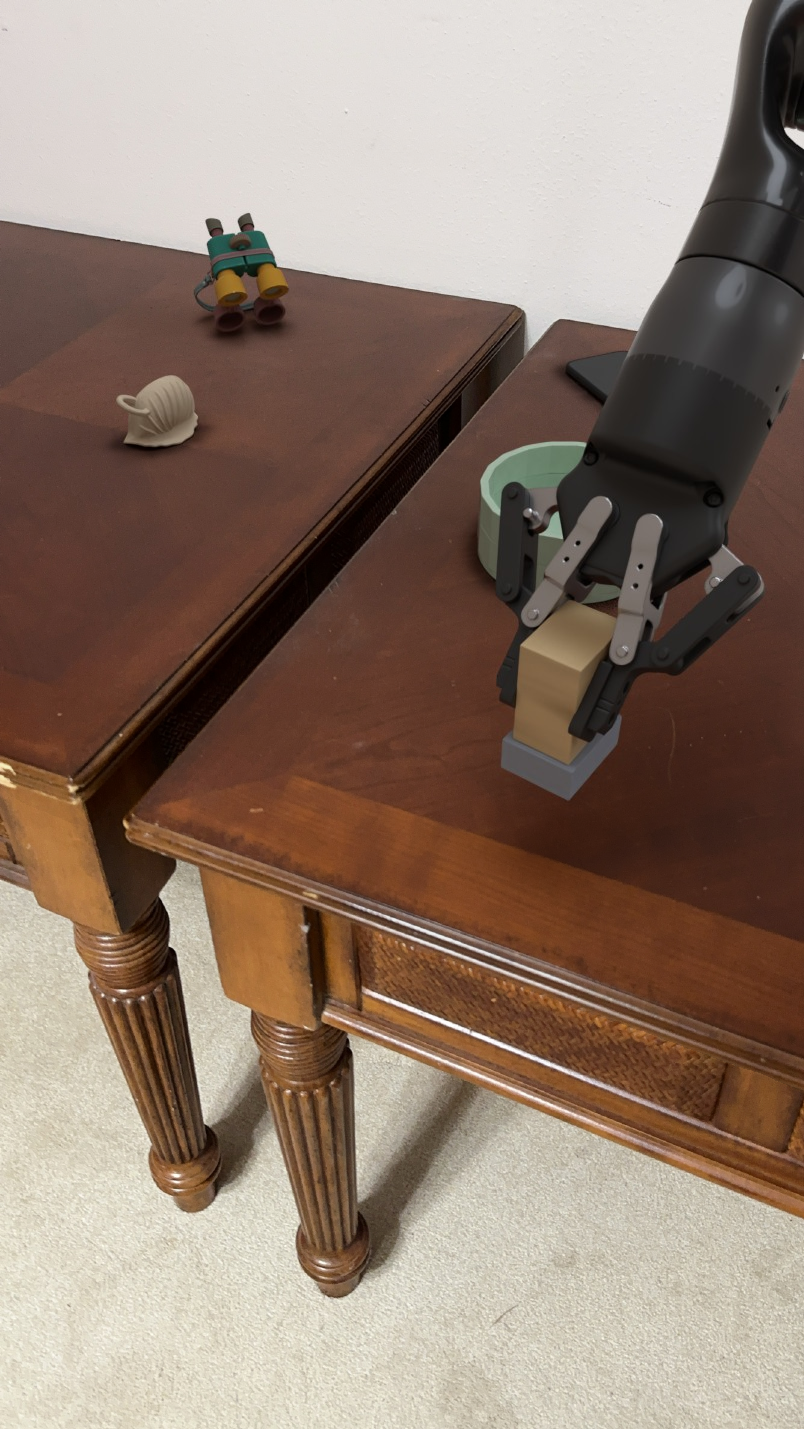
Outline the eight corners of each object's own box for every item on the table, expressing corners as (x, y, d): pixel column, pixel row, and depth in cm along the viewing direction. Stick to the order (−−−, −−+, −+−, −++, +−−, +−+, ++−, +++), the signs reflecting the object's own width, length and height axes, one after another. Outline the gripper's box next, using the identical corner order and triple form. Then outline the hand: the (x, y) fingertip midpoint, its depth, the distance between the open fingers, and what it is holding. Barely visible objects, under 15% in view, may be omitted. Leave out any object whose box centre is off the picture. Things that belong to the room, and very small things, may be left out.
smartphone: (628, 347, 106) (720, 414, 96) (627, 356, 107) (718, 424, 97) (561, 361, 104) (648, 431, 94) (560, 371, 105) (646, 441, 94)
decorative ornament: (212, 426, 97) (205, 369, 93) (139, 464, 92) (128, 406, 89) (181, 412, 99) (173, 355, 95) (108, 449, 94) (96, 390, 90)
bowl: (666, 519, 86) (678, 457, 82) (638, 619, 77) (649, 554, 73) (502, 491, 89) (506, 429, 85) (456, 584, 80) (458, 519, 76)
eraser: (551, 713, 59) (564, 592, 53) (617, 744, 57) (638, 621, 52) (500, 767, 56) (508, 644, 50) (568, 801, 54) (585, 678, 49)
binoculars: (205, 351, 113) (208, 289, 103) (180, 275, 114) (181, 207, 105) (292, 336, 115) (303, 274, 106) (266, 262, 117) (275, 195, 107)
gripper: (545, 314, 51) (392, 652, 52) (842, 396, 45) (661, 778, 46) (590, 379, 58) (453, 678, 59) (853, 458, 52) (695, 790, 53)
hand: (545, 720), depth 53 cm, fingers closed on eraser, 3 cm apart
